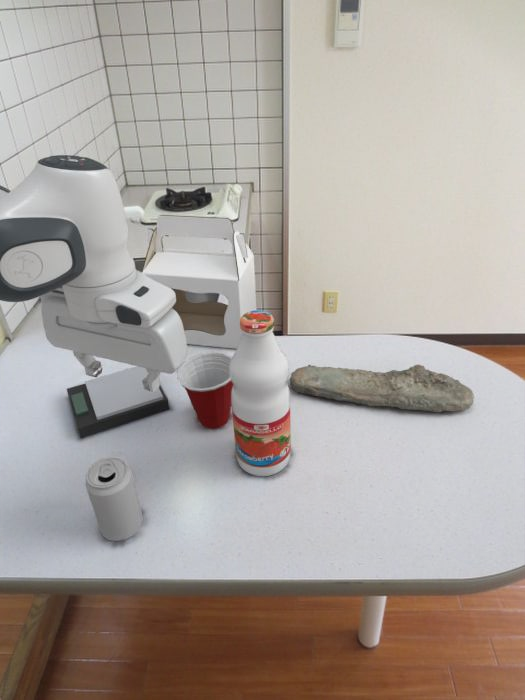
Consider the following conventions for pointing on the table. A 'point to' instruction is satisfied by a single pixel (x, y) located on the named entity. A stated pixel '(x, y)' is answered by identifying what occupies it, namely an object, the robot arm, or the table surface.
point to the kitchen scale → (114, 401)
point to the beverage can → (114, 498)
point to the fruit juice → (260, 397)
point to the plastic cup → (208, 387)
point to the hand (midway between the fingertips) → (123, 381)
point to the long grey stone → (385, 387)
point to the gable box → (204, 277)
